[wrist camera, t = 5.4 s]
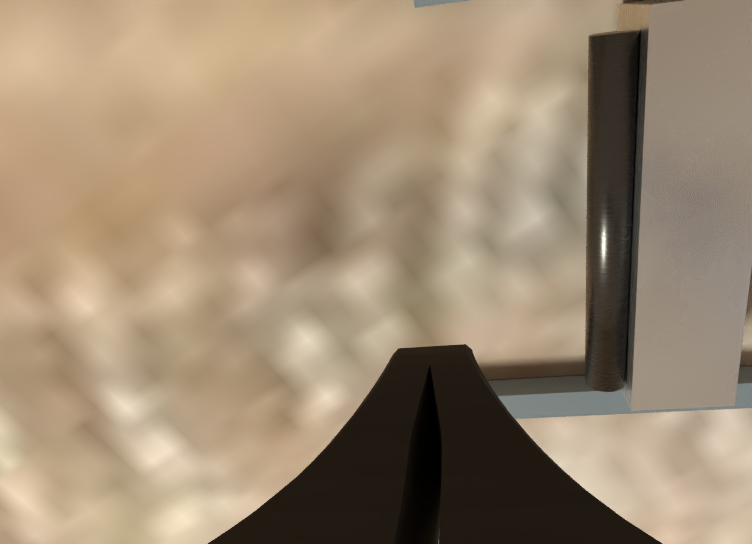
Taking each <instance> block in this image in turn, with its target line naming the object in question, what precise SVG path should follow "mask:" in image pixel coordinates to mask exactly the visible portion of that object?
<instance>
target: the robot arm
mask: <svg viewBox="0 0 752 544" xmlns="http://www.w3.org/2000/svg"><path fill="white" fill-rule="evenodd" d="M439 528H440V530H439ZM438 541H439V544H662V543H661V542H659V541H657V540H656V539H654V538H653V537H651V536H650V535H648V534H647V533H645V532H643V531H642V530H640V529H639V528H637V527H636V526H634V525H633V524H631V523H630V522H628V521H626V520H625V519H623V518H622V517H621V516H619V515H618V514H617V513H615V512H614V511H613V510H611V509H610V508H609V507H607V506H606V505H605V504H603V503H602V502H601V501H599V500H598V499H597V498H595V497H594V496H593V495H592V494H590V493H589V492H588V491H586V490H585V489H584V488H583V487H581V486H580V485H579V484H578V483H577V482H576V481H575V480H573V479H572V478H571V477H570V476H569V475H568V474H567V473H565V472H564V471H563V470H562V469H561V468H560V467H559V466H558V465H557V464H556V463H555V462H554V461H553V460H552V459H551V458H550V457H549V456H548V455H547V454H546V453H545V452H544V451H543V450H542V449H541V448H540V447H539V446H538V445H537V444H536V443H535V442H534V441H533V440H532V439H531V438H530V436H529V435H528V434H527V433H526V432H525V431H524V429H523V428H522V427H521V426H520V425H519V424H518V422H517V421H516V420H515V419H514V417H513V416H512V415H511V414H510V412H509V411H508V410H507V409H506V407H505V406H504V404H503V403H502V402H501V400H500V399H499V397H498V396H497V395H496V393H495V392H494V390H493V389H492V387H491V386H490V384H489V383H488V381H487V380H486V378H485V376H484V375H483V373H482V371H481V369H480V368H479V366H478V364H477V362H476V360H475V357H474V355H473V352H472V349H470V348H469V347H468V346H467V345H466V344H464V345H448V346H432V347H415V348H399V349H398V350H397V351H396V352H395V353H394V354H393V356H392V357H391V359H390V361H389V363H388V364H387V366H386V368H385V369H384V371H383V373H382V374H381V376H380V377H379V379H378V380H377V382H376V384H375V385H374V387H373V388H372V390H371V391H370V392H369V394H368V395H367V397H366V398H365V399H364V401H363V402H362V404H361V405H360V406H359V408H358V409H357V410H356V412H355V413H354V414H353V416H352V417H351V418H350V419H349V421H348V422H347V423H346V424H345V425H344V427H343V428H342V429H341V430H340V432H339V433H338V434H337V435H336V436H335V438H334V439H333V440H332V441H331V442H330V443H329V445H328V446H327V447H326V448H325V449H324V450H323V451H322V452H321V453H320V454H319V455H318V456H317V457H316V458H315V460H314V461H313V462H312V463H311V464H310V465H309V466H308V467H306V468H305V469H304V470H303V471H302V472H301V473H300V474H299V475H298V476H297V477H296V478H295V479H294V480H293V481H291V482H290V483H289V484H288V485H287V486H285V487H284V488H283V489H282V490H280V491H279V492H278V493H277V494H275V495H274V496H273V497H272V498H271V499H269V500H268V501H267V502H266V503H264V504H263V505H262V506H261V507H260V508H258V509H257V510H256V511H254V512H253V513H252V514H250V515H249V516H248V517H246V518H245V519H243V520H242V521H241V522H239V523H238V524H236V525H235V526H234V527H232V528H231V529H229V530H228V531H226V532H225V533H223V534H222V535H220V536H219V537H217V538H216V539H214V540H212V541H211V542H209V543H208V544H438Z"/></svg>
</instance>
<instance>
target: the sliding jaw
mask: <svg viewBox="0 0 752 544" xmlns="http://www.w3.org/2000/svg"><path fill="white" fill-rule="evenodd" d="M751 269H752V0H645V1H637V2H629V3H621V4H618V18H617V31H614V32H605V33H598V34H593V35H589V55H588V150H587V245H586V339H585V382H586V384H587V385H588V386H589V387H590V388H592V389H594V390H597V391H601V392H615V391H618V390H620V389H621V391H622V393H623V395H624V397H625V399H626V401H627V403H628V405H629V408H630V410H631V411H644V410H665V409H686V408H707V407H729V406H735V398H736V390H737V382H738V374H739V366H740V358H741V350H742V342H743V334H744V326H745V317H746V309H747V301H748V293H749V285H750V277H751Z"/></svg>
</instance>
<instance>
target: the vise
mask: <svg viewBox="0 0 752 544" xmlns="http://www.w3.org/2000/svg"><path fill="white" fill-rule="evenodd" d="M460 1H467V0H414V4H415V7H422V6H429V5H437V4H444V3H452V2H460ZM488 383H489V384H490V386H491V387H492V389H493V390H494V392H495V393H496V395H497V396H498V397H499V399H500V400H501V402H502V403H503V404H504V406H505V407H506V409H507V410H508V411H509V412H510V414H511V415H512V416H513V417H514V419H523V418H545V417H566V416H588V415H609V414H630V413H652V412H673V411H694V410H716V409H737V408H752V366H744V367H739V374H738V382H737V390H736V398H735V406H729V407H707V408H686V409H665V410H644V411H631V410H630V408H629V405H628V403H627V401H626V399H625V397H624V395H623V393H622V391H621V389H620V390H618V391H615V392H601V391H597V390H594V389H592V388H590V387H589V386H588V385H587V384H586V382H585V375H580V376H562V377H544V378H526V379H507V380H489V381H488Z"/></svg>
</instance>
